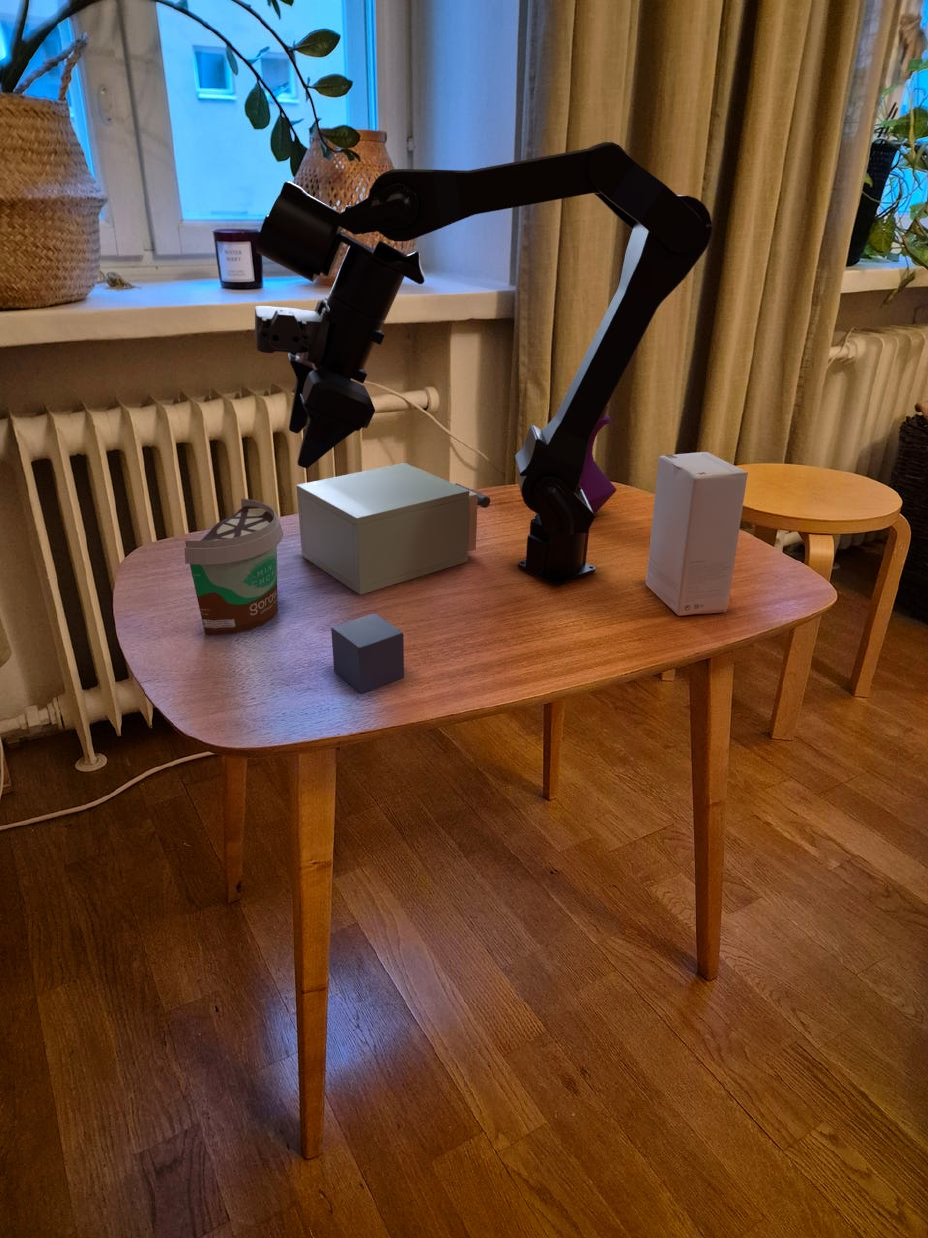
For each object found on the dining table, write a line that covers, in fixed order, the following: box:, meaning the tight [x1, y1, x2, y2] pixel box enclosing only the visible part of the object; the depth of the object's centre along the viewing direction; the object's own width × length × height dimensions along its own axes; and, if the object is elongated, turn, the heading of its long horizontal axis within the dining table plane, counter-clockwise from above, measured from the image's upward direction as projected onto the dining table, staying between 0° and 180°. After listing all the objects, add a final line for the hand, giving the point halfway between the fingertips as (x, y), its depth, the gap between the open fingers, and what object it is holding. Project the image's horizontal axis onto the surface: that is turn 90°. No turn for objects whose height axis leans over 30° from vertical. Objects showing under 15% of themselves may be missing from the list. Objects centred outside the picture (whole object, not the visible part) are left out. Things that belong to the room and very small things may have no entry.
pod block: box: [330, 612, 405, 694], centre depth 69 cm, size 4×4×4 cm
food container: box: [184, 497, 284, 636], centre depth 77 cm, size 12×6×10 cm, turn 168°
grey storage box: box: [296, 462, 469, 596], centre depth 90 cm, size 15×13×9 cm
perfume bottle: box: [579, 403, 617, 514], centre depth 103 cm, size 8×8×18 cm
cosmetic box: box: [645, 451, 749, 616], centre depth 81 cm, size 8×6×15 cm
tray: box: [421, 469, 491, 553], centre depth 92 cm, size 18×11×7 cm, turn 129°
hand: (297, 448), depth 83 cm, fingers open, 9 cm apart
